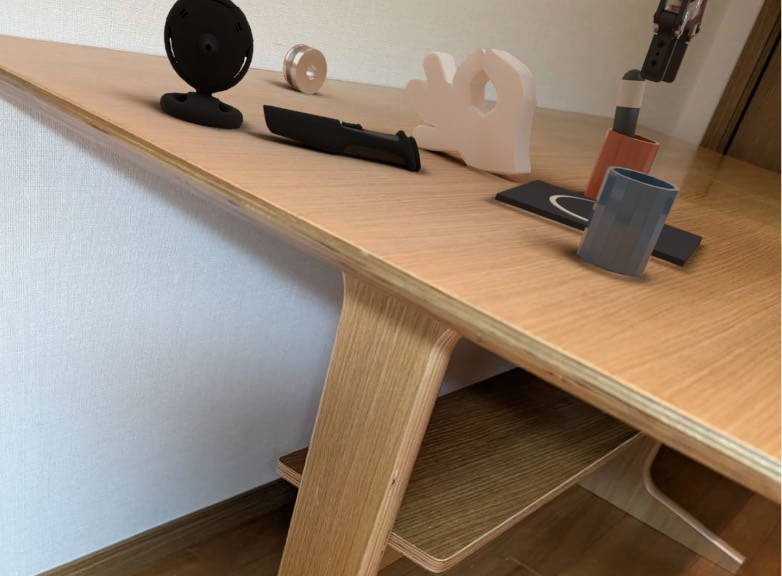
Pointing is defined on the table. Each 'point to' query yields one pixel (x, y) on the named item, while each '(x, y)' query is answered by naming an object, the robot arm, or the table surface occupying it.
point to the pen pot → (621, 157)
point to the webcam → (207, 59)
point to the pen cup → (626, 221)
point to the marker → (629, 103)
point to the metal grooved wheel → (305, 68)
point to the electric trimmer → (342, 136)
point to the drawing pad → (578, 209)
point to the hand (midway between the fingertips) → (656, 80)
